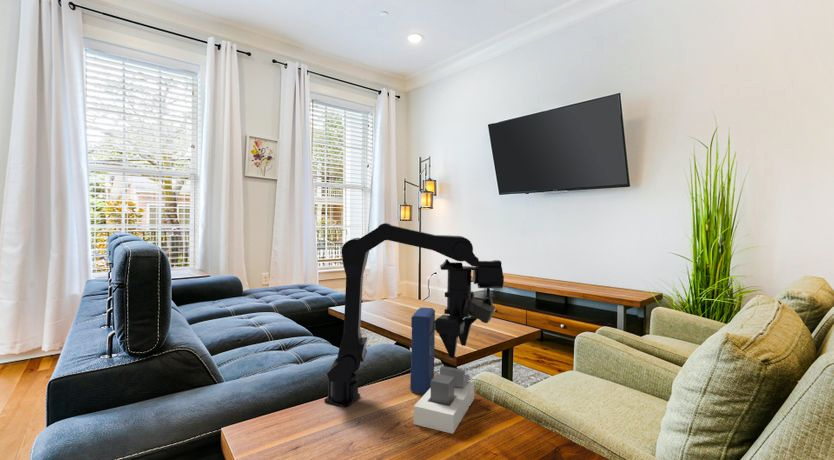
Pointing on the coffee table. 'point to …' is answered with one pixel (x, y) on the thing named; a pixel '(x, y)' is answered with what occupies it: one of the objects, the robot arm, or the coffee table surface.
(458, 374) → the grey block
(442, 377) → the plug
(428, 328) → the electronic device
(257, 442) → the coffee table surface
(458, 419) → the power strip
